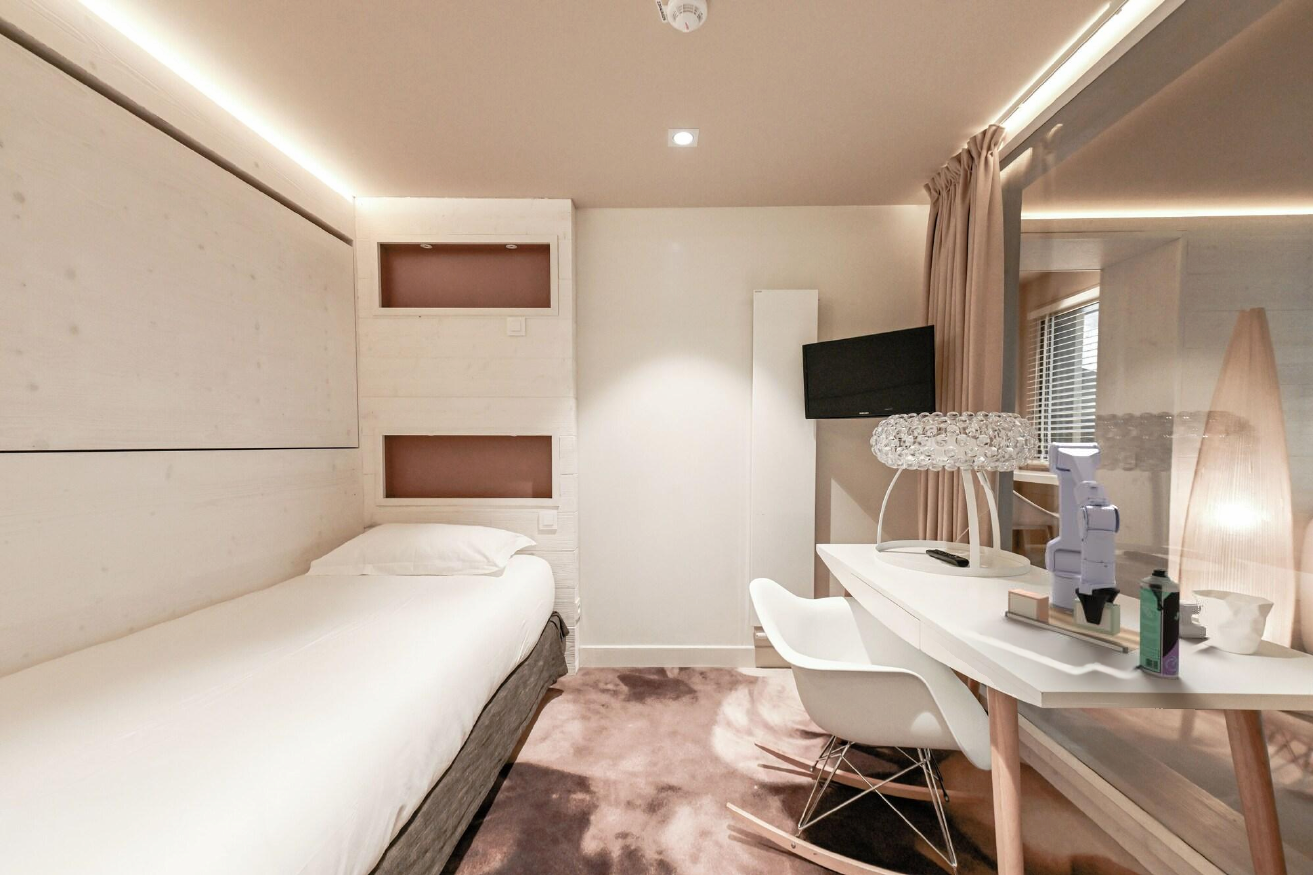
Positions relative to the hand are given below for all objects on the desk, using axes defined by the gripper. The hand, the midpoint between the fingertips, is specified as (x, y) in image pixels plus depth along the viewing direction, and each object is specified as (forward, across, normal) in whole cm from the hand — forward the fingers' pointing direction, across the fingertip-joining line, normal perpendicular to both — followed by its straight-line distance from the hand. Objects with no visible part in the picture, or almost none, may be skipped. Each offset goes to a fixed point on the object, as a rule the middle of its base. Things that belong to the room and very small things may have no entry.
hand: (1097, 621), depth 115 cm
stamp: (+5, -19, +10) cm, 22 cm away
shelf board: (+5, -5, -4) cm, 8 cm away
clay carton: (+3, 0, -14) cm, 14 cm away
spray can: (+5, +8, +12) cm, 15 cm away
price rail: (+5, +3, -6) cm, 8 cm away
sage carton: (+2, 0, 0) cm, 2 cm away
